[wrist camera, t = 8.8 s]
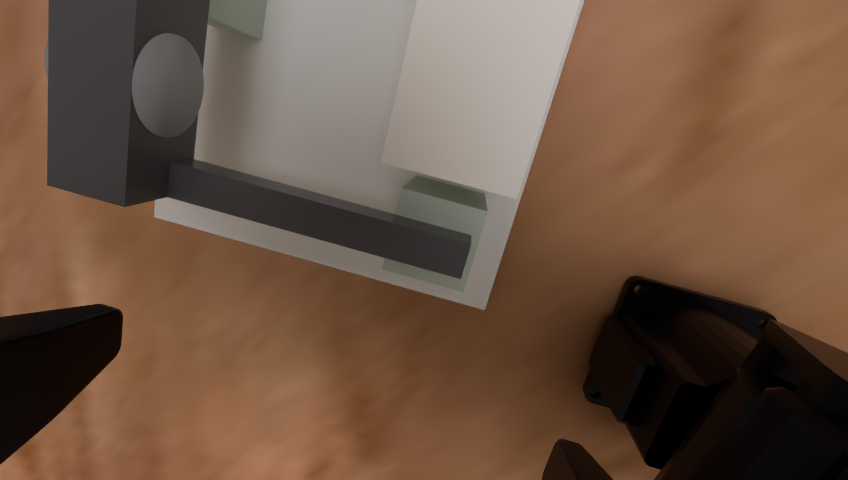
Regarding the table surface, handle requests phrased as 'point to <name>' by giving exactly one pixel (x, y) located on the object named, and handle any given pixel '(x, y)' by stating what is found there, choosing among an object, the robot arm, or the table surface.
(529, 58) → the display stand
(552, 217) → the table surface
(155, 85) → the glasses
